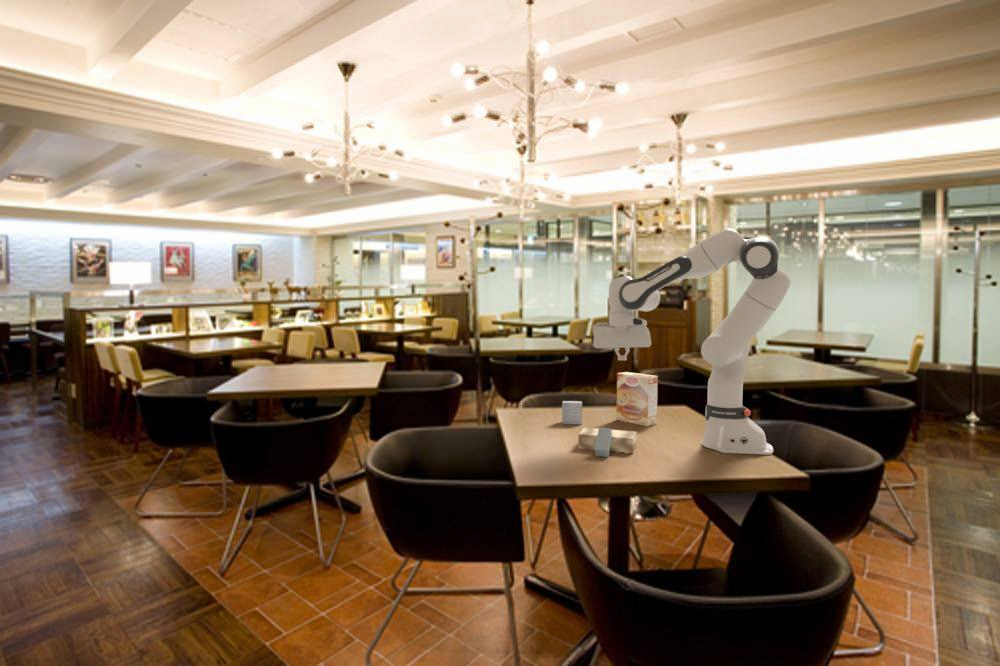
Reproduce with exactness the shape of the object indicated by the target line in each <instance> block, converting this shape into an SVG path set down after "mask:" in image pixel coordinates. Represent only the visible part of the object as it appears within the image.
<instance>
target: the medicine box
mask: <svg viewBox="0 0 1000 666" xmlns="http://www.w3.org/2000/svg"><path fill="white" fill-rule="evenodd" d="M561 412H562V413H561V420H562V421H561V424H562V425H583V402H582V400H581V401H580V400H579V401H578V400H563V401H562V403H561Z"/></svg>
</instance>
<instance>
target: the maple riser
mask: <svg viewBox="0 0 1000 666" xmlns="http://www.w3.org/2000/svg"><path fill="white" fill-rule="evenodd" d="M598 429H599V427H598V428H596V427H595V428H594V427H583V428H582V429H581V431H580V432H579V433H578V443H577V444H578V445H577V446H578V447H577V448H578V450H579V449H580V450H587V449H589V451H595V445H596V440H597V435H598ZM611 432H612V438H611V444H610V450H609V451H615V452H614V453H619V452H625V453H624V454H629V453H633V452H634V453H635V451H634V450H636V449H637V438H638V437H637V435H638V434H637V431H633V430H619V429H611ZM634 453H633V454H634Z"/></svg>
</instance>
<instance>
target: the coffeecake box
mask: <svg viewBox="0 0 1000 666" xmlns="http://www.w3.org/2000/svg"><path fill="white" fill-rule="evenodd" d="M616 375H617V377H616V415H615V416H616V419H617V420H616V421H618V420H620V421H619V422H623V421H624V423H628V422H629V424H633V423H634V425H638V424H639V426H643V425H644V427H651V426H653V425H657V424H658V417H657V416H658V384H659V383H658V380H659V376H658V375H654V374H653V375H652V374H645V373H640V372H639V373H637V372H629V371H624V372H617V373H616ZM650 425H651V426H650Z"/></svg>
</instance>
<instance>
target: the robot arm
mask: <svg viewBox="0 0 1000 666" xmlns="http://www.w3.org/2000/svg"><path fill="white" fill-rule="evenodd" d="M779 257H780V249H779V247H778V245H777V243H776V242H775V241H774V240H773V239H771V238H770V237H767V236H751V237H743V236H742V235H741V233H739V232H738V231H737V230H735V229H733V228H729V227H728V228H724V229H722V230H719V231H717V232H715V233H714V234H710V235H709V236H708V237H706V238H704V239H703V240H701V241H700V242H698V243H696V244H694V246H692V247H690V248H689V249H688V250H686V251H684V252H683V253H682V254H680V255H678V256H677V257H675V258H673V259H671V260H670V261H668V262H666V263H665V264H663V265H661V266H660V267H657V268H656V269H654V270H652V271H651V272H649V273H648V274H645V275H644V276H641V277H638V278H632V277H631V276H627V275H624V276H623V275H622V276H618V277H615V278H613V279H612V280H611V281H610V283H609V286H608V304H609V311H608V321H607V322H596V323H595V324H594V325H593V326H592V334H593V343H592V344H593V347H594V348H595V349H614V352H615V354H616V356H617V360H618V361H627V359H628V358H627V356H628V354H629V352H630V348H650V347H651V346H652V338H651V333H650V330H649V328H648V327H647V326H648V323H647V320H646V319H644V318H641V317H640V318H639V317H637V316H635V311H639V312H651V311H654V310H655V309H657V307H658V306H659V305H660V302H661V293H660V291H659V290H661V289H663V288H664V287H667V286H669V284H671V283H673V282H676V281H679V280H686V279H687V280H689V279H691V280H692V279H697V280H699V279H703V278H706V277H708V276H710V275H713V274H714V273H716V272H717V271H719V270H721V269H723V268H724V267H726V266H728V265H729V264H731V263H734V262H740V263H741V265H742V267H743V268H744V269H745V270H746V271H747V272H748V273H749V274H750V275H751V276H752V281H751V282H750V284H749V285H748V287H747V288H746V290H745V291H744V292H743V294H742V295H741V297H740V298H739V300H738V301H737V303H736V304H735V305H734V307H733V308H732V309H731V311H730V312H729V313H728V314H727V315H726V316H725V318H724V319H723V320H722V321H721V322H719V324H718V325H717V327H716V328H715V329H714V330H713V331H712V332H711V334H710V335H709V336H708V337H707V338H705V340H704V341H703V342H702V344H701V347H700V353H701V357H702V359H703V360H704V361H705V362H706V363H707V364H709V365H712V369H711V373H710V376H709V378H708V381H707V403H706V405H705V413H704V414H705V415H704V416H705V417H704V418H705V420H706V421H705V427H704V432H703V433H704V434H703V436H702V440H701V442H700V444H701V445H702V446H704V447H705V448H707V449H711V450H715V451H718V452H720V453H723V454H740V455H741V454H742V455H743V454H744V455H747V454H748V455H766V456H767V455H768V456H769V455H771V454H773V453H774V448H773V446H772V445H771V443H768V442H767V438H766V433H765V431H764V430H763V429H762V428H761V426H759V425H758V424H756V423H755V422H754V421H753V420H752V419H751V418H750V416H751V412H752V411H751V410H750V409H749V408H747V407H746V406H744V405H743V391H744V389H743V388H744V380H745V374H746V371H747V363H748V359H749V358H748V357H749V354H750V352H751V341H752V340H753V339H754V338H755V337H756V335H758V333H759V332H761V330H763V329H764V327H765V325H766V324H767V323H768V321H769V320H770V319H771V317H772V316H773V315H774V313H775V312H776V310H777V309H778V308H779V306H780V305H781V303H782V302H783V300H784V298H785V297H786V294H787V292H788V291H789V288H790V285H791V280H790V277H789V276H788V274H786V272H784V271H783V270H782V269H780V268H779V267H778V262H779ZM620 348H624V350H625V353H624V354H623V355H621V354H620V352H619V351H620Z"/></svg>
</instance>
